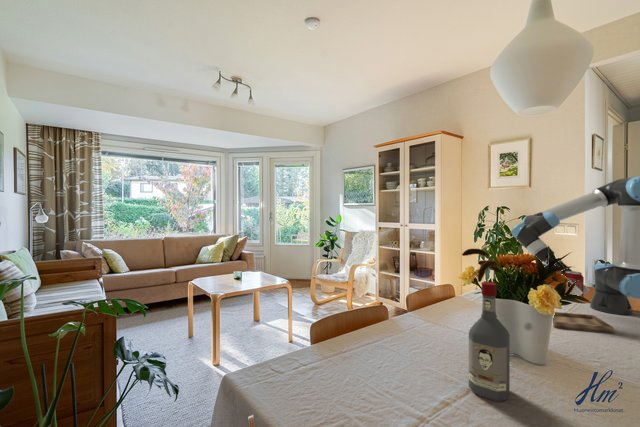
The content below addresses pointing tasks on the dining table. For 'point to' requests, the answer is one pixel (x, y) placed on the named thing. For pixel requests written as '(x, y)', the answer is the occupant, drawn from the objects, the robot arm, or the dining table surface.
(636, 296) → the robot arm
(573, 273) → the soda can
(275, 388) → the dining table surface
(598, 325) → the walnut tray
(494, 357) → the liquor
